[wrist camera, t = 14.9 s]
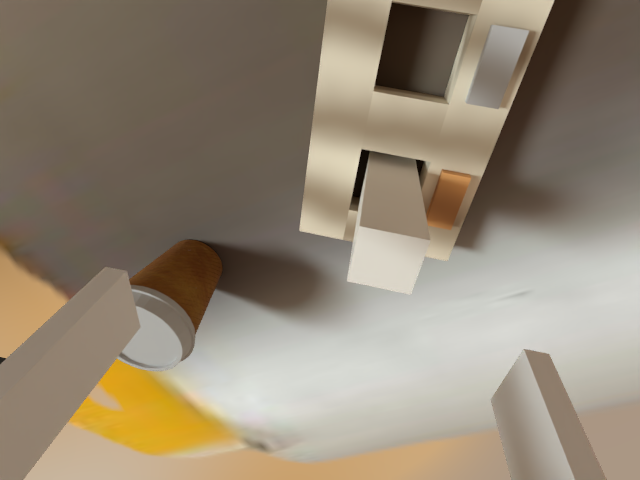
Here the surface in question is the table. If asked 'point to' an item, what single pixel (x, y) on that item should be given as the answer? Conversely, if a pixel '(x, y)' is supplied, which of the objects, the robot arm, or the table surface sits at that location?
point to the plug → (389, 225)
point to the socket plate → (414, 111)
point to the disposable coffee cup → (171, 305)
